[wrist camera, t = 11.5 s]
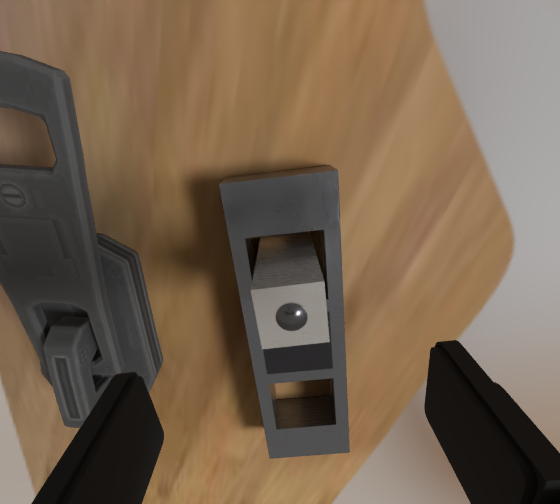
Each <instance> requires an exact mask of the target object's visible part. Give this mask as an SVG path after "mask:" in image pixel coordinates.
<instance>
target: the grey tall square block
mask: <svg viewBox="0 0 560 504" xmlns="http://www.w3.org/2000/svg"><path fill="white" fill-rule="evenodd" d="M251 295H252V300H253V305H254V310H255V315H256V321H257V326H258V331H259V336H260V341H261V347H262V349H270V348H280V347H289V346H298V345H307V344H316V343H326V342H330V339H329V328H328V317H327V305H326V294H325V283H324V278H323V275H322V272H321V268H320V265H319V262H318V258H317V255H316V252H315V248H314V245H313V242H312V238H311V235H310V232H309V231H307V232H297V233H290V234H282V235H274V236H266V237H260V243H259V248H258V253H257V259H256V264H255V269H254V275H253V280H252V285H251Z"/></svg>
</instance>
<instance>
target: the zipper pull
mask: <svg viewBox="0 0 560 504" xmlns="http://www.w3.org/2000/svg"><path fill="white" fill-rule="evenodd" d="M0 107H6V108H14V109H17V110H20V111H23V112H26V113H30V114H33V115H36V116H39V117H40V118H41V119H42V120H43V121H44V122H45V123H46V126H47V129H48V133H49V136H50V140H51V143H52V146H53V150H54V153H55V157H56V161H55V164H54V166H53V168H48V167H33V166H19V165H4V164H0V283H1V285H2V286H3V288H4V290H5V292H6V293H7V295H8V297H9V298H10V300H11V302H12V304H13V306H14V308H15V310H16V312H17V314H18V316H19V318H20V320H21V322H22V324H23V326H24V328H25V330H26V332H27V334H28V336H29V338H30V340H31V342H32V344H33V346H34V348H35V350H36V352H37V354H38V356H39V358H40V363H41V371H42V374H43V375H44V377H45V378H46V379H47V380H48V382H49V383H50V384H51V385H52V387H53V389H54V393H55V396H56V400H57V403H58V406H59V410H60V413H61V416H62V419H63V422H64V425H65V426H67V427H73V428H81V426H82V424H83V423H84V421H85V420H86V418H87V417H88V415H89V414H90V412H91V410H92V409H93V407H94V406H95V404H96V403H97V401H98V400H99V398H100V397H101V395H102V393H103V392H104V390H105V389H106V387H107V386H108V384H109V383H110V381H111V379H112V378H113V377H114V375H116V374H119V373H129V372H136V373H137V374H138V376H141V377H142V378H143V379H144V382H145V385H146V387H147V390H148V392H149V391H150V389H151V387H152V385H153V383H154V381H155V379H156V377H157V374H158V372H159V370H160V368H161V365H162V363H163V356H162V352H161V348H160V344H159V341H158V337H157V333H156V328H155V324H154V320H153V315H152V311H151V307H150V302H149V298H148V294H147V289H146V285H145V281H144V276H143V272H142V268H141V263H140V260H139V256H138V253H137V252H136V251H134V250H132V249H130V248H128V247H126V246H125V245H123V244H121V243H119V242H117V241H115V240H114V239H112V238H110V237H108V236H106V235H104V234H96V230H95V224H94V218H93V213H92V207H91V201H90V195H89V190H88V184H87V178H86V171H85V164H84V157H83V151H82V145H81V140H80V134H79V128H78V123H77V117H76V112H75V106H74V100H73V95H72V89H71V84H70V78H69V77H68V75H67V74H66V73H65V72H64V71H63V70H60V69H58V68H55V67H52V66H50V65H47V64H44V63H42V62H39V61H36V60H34V59H31V58H28V57H26V56H23V55H18V54H12V53H7V52H2V51H0Z"/></svg>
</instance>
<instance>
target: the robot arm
mask: <svg viewBox="0 0 560 504" xmlns="http://www.w3.org/2000/svg"><path fill="white" fill-rule="evenodd" d="M425 414H426V417H427V419H428V421H429V423H430V425H431V427H432V429H433V431H434V433H435V435H436V437H437V439H438V441H439V443H440V444H441V447H442V448H443V450H444V452H445V454H446V456H447V458H448V460H449V462H450V464H451V466H452V468H453V470H454V471H455V474H456V476H457V478H458V480H459V481H460V483H461V485H462V487H463V489H464V491H465V493H466V495H467V497H468V499H469V501H470V503H471V504H560V453H559V452H558V451H557V450H556V448H555V447H554V446H553V445H552V444H551V443H550V442H549V440H548V439H547V438H546V437H545V436H544V435H543V434H542V432H541V431H540V430H539V429H538V428H537V426H536V425H535V424H534V423H533V422H532V421H531V420H530V418H529V417H528V416H527V415H526V414H525V413H524V412H523V411H522V409H521V408H520V407H519V406H518V405H517V403H515V402H514V400H513V399H512V398H511V396H510V395H509V394H508V393H507V392H506V391H505V390H504V389H503V388H502V387H501V386H500V385H499V384H497V383H495V382H493V381H492V380H491V379H490V378H489V376H487V374H486V373H485V372H484V371H483V369H482V368H481V367H480V366H479V365H478V363H476V361H475V360H474V359H473V358H472V356H471V355H470V354H469V353H468V352H467V350H466V349H465V348H464V347H463V346H462V345H461V344H460V343H459V342H458V341H456V340H453V341H443V342H437V343H436V345H435V347H432V348H431V350H430V359H429V369H428V378H427V388H426V397H425ZM163 440H164V432H163V429H162V426H161V424H160V421H159V418H158V416H157V413H156V411H155V408H154V405H153V403H152V400H151V398H150V395H149V392H148V390H147V387H146V385H145V382H144V379H143V378H142V377H141V376H138V374H137V373H136V372H129V373H119V374H116V375H114V377H113V378H112V379H111V381H110V383H109V384H108V386H107V387H106V389H105V390H104V392H103V393H102V395H101V397H100V398H99V400H98V401H97V403H96V404H95V406H94V407H93V409H92V410H91V412H90V414H89V415H88V417H87V418H86V420H85V421H84V423H83V424H82V426H81V428H80V429H79V431H78V432H77V434H76V435H75V437H74V438H73V440H72V442H71V443H70V445H69V446H68V448H67V449H66V451H65V452H64V454H63V456H62V457H61V459H60V460H59V462H58V463H57V465H56V466H55V468H54V469H53V471H52V473H51V474H50V476H49V477H48V479H47V480H46V482H45V483H44V485H43V487H42V488H41V490H40V491H39V493H38V494H37V496H36V497H35V499H34V501H33V502H32V504H142V501H143V498H144V496H145V493H146V490H147V487H148V484H149V481H150V479H151V476H152V473H153V470H154V467H155V464H156V462H157V459H158V456H159V453H160V450H161V447H162V445H163Z"/></svg>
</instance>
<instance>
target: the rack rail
mask: <svg viewBox="0 0 560 504" xmlns="http://www.w3.org/2000/svg"><path fill="white" fill-rule="evenodd" d="M219 188H220V193H221V198H222V204H223V209H224V215H225V220H226V225H227V231H228V236H229V242H230V247H231V252H232V258H233V263H234V268H235V274H236V279H237V285H238V290H239V295H240V301H241V306H242V312H243V317H244V322H245V328H246V333H247V338H248V344H249V349H250V355H251V360H252V365H253V371H254V376H255V382H256V387H257V392H258V398H259V403H260V408H261V414H262V419H263V425H264V430H265V435H266V441H267V446H268V451H269V457H270V459H271V458H284V457H297V456H310V455H323V454H336V453H348V452H350V450H349V426H348V401H347V377H346V353H345V328H344V304H343V280H342V255H341V231H340V207H339V182H338V170H337V169H335V168H334V167H332V166H331V165H327V166H318V167H310V168H301V169H292V170H284V171H275V172H267V173H258V174H250V175H241V176H232V177H227V178H225V179H224V180H223V181H222V182H221V183H219ZM316 230H319V232H320V247H321V261H322V275H323V278H324V283H325V294H326V305H327V317H328V328H329V339H330V342H326V343H316V344H307V345H298V346H289V347H280V348H270V349H262V347H261V341H260V336H259V331H258V326H257V321H256V315H255V310H254V305H253V300H252V295H251V285H252V280H253V275H254V269H255V258H254V251H253V245H252V238H251V237H260V236H270V235H279V234H288V233H297V232H307V231H316ZM318 379H330V394H331V395H328V396H316V397H305V398H293V399H281V400H277V398H276V392H275V385H274V383H284V382H295V381H307V380H318Z"/></svg>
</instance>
